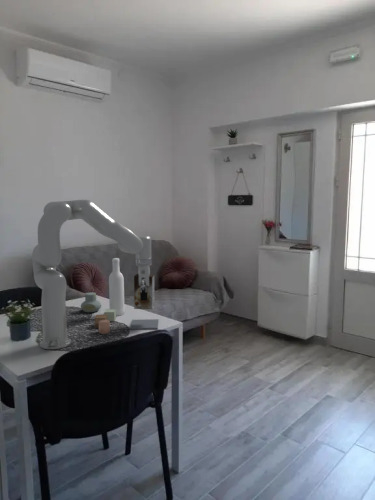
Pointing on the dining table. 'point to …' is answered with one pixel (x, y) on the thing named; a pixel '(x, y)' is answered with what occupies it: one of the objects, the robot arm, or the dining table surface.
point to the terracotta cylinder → (104, 326)
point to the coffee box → (150, 294)
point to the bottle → (116, 288)
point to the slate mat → (144, 324)
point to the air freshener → (90, 303)
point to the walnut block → (99, 319)
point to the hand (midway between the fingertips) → (144, 298)
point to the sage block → (110, 314)
